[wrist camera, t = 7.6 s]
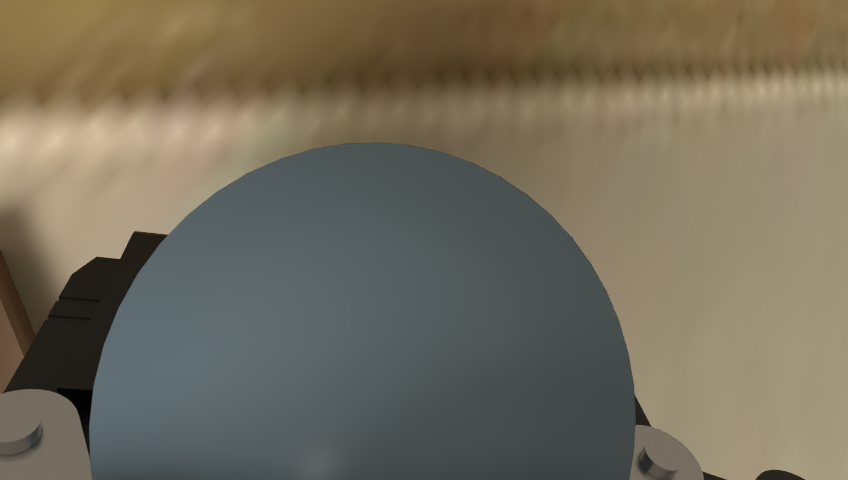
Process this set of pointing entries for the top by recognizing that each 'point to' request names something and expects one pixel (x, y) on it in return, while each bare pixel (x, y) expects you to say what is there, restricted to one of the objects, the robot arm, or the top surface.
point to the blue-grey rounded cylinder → (365, 334)
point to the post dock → (11, 328)
